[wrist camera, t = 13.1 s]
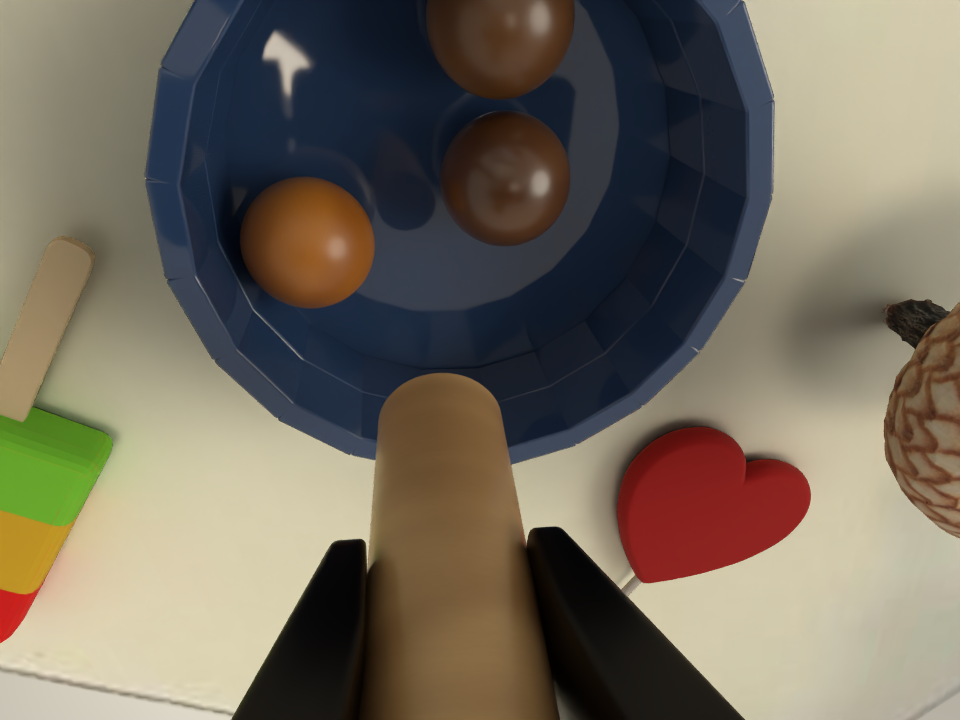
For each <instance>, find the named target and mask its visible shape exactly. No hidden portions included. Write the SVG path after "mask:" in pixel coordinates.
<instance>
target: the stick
mask: <svg viewBox="0 0 960 720" xmlns="http://www.w3.org/2000/svg"><path fill="white" fill-rule="evenodd" d="M526 547H527V545H526V540H525V534H524V529H523V524H522V519H521V514H520V509H519V503H518V498H517V493H516V488H515V483H514V478H513V472H512V467H511V462H510V457H509V452H508V446H507V441H506V436H505V431H504V426H503V421H502V415H501V411H500V407H499V405H498V403H497V401H496V399H495V398H494V396H493V395H492V394H491V393H490V392H489V391H488V390H487V389H486V388H485V387H484V386H483V385H481V384H480V383H478V382H476V381H474V380H473V379H471V378H468V377H465V376H462V375H458V374H452V373H433V374H427V375H422V376H419V377H416V378H414V379H411V380H409V381H407V382H406V383H404V384H402V385H401V386H399V387H398V388H397V389H396V390H395V391H394V392H393V393H392V394H391V395H390V396H389V397H388V398H387V400H386V401H385V403H384V405H383V407H382V409H381V412H380V415H379V421H378V435H377V448H376V461H375V474H374V488H373V501H372V514H371V527H370V540H369V554H368V567H367V606H366V653H365V670H364V679H363V688H362V696H361V703H360V712H359V720H560V715H559V710H558V705H557V700H556V695H555V690H554V684H553V679H552V674H551V669H550V664H549V659H548V653H547V648H546V643H545V638H544V633H543V628H542V623H541V618H540V613H539V607H538V602H537V597H536V592H535V587H534V582H533V578H532V573H531V568H530V564H529V559H528V554H527V550H526Z"/></svg>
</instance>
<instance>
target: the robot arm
mask: <svg viewBox="0 0 960 720" xmlns="http://www.w3.org/2000/svg"><path fill="white" fill-rule="evenodd" d="M526 550H527V554H528V559H529V564H530V568H531V573H532V578H533V582H534V587H535V592H536V597H537V602H538V607H539V613H540V618H541V623H542V628H543V633H544V638H545V643H546V648H547V653H548V659H549V664H550V669H551V674H552V679H553V684H554V690H555V695H556V700H557V705H558V710H559V715H560V720H745V719H744V718H743V717H742V716H741V715H740V714H739V713H738V712H737V711H736V710H735V709H734V708H733V707H732V706H731V705H730V703H729V702H728V701H727V700H726V699H725V698H724V697H723V696H722V695H721V694H720V693H719V692H718V691H717V690H716V689H715V688H714V687H713V686H712V685H711V684H710V683H709V682H708V680H707V679H706V678H705V677H704V676H703V675H702V674H701V673H700V672H699V671H698V670H697V669H696V668H695V667H694V666H693V665H692V664H691V663H690V662H689V661H688V660H687V659H686V657H685V656H684V655H683V654H682V653H681V652H680V651H679V650H678V649H677V648H676V647H675V646H674V645H673V644H672V643H671V642H670V641H669V640H668V639H667V638H666V637H665V635H664V634H663V633H662V632H661V631H660V630H659V629H658V628H657V627H656V626H655V625H654V624H653V623H652V622H651V621H650V620H649V619H648V618H647V617H646V616H645V615H644V614H643V612H642V611H641V610H640V609H639V608H638V607H637V606H636V605H635V604H634V603H633V602H632V601H631V600H630V599H629V598H628V597H627V596H626V595H625V594H624V593H623V592H622V591H621V589H620V588H619V587H618V586H617V585H616V584H615V583H614V582H613V581H612V580H611V579H610V578H609V577H608V576H607V575H606V574H605V573H604V572H603V571H602V570H601V569H600V567H599V566H598V565H597V564H596V563H595V562H594V561H593V560H592V559H591V558H590V557H589V556H588V555H587V554H586V553H585V552H584V551H583V550H582V549H581V548H580V547H579V546H578V544H577V543H576V542H575V541H574V540H573V539H572V538H571V537H570V536H569V535H568V534H567V533H566V532H565V531H564V530H563V529H561V528H560V527H539V528H533V529H532V530H530V532H529V535H528V540H527V547H526ZM366 606H367V556H366V543H365V541H364V540H362V539H352V540H338V541H335V542H333V543H332V544H331V545H330V547H329V549H328V550H327V552H326V554H325V556H324V557H323V559H322V561H321V563H320V564H319V566H318V568H317V570H316V571H315V573H314V575H313V577H312V578H311V580H310V582H309V584H308V585H307V587H306V589H305V591H304V592H303V594H302V596H301V598H300V599H299V601H298V603H297V605H296V606H295V608H294V610H293V612H292V614H291V615H290V617H289V619H288V621H287V622H286V624H285V626H284V628H283V629H282V631H281V633H280V635H279V636H278V638H277V640H276V642H275V643H274V645H273V647H272V649H271V650H270V652H269V654H268V656H267V657H266V659H265V661H264V663H263V664H262V666H261V668H260V670H259V671H258V673H257V675H256V677H255V679H254V680H253V682H252V684H251V686H250V687H249V689H248V691H247V693H246V694H245V696H244V698H243V700H242V701H241V703H240V705H239V707H238V708H237V710H236V712H235V714H234V715H233V717H232V719H231V720H359V712H360V703H361V696H362V688H363V679H364V670H365V653H366Z"/></svg>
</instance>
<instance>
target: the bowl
mask: <svg viewBox="0 0 960 720" xmlns="http://www.w3.org/2000/svg"><path fill="white" fill-rule="evenodd" d="M426 5H427V0H193V2H192V4H191V6H190V8H189V10H188V11H187V13H186V15H185V17H184V19H183V21H182V23H181V24H180V26H179V28H178V30H177V32H176V34H175V35H174V37H173V39H172V41H171V43H170V45H169V47H168V48H167V50H166V52H165V54H164V56H163V58H162V60H161V67H159V69H158V73H157V81H156V88H155V96H154V103H153V111H152V118H151V126H150V133H149V141H148V148H147V156H146V163H145V171H144V175H145V178H146V179H145V187H146V192H147V196H148V201H149V206H150V210H151V215H152V220H153V224H154V229H155V234H156V238H157V243H158V248H159V252H160V257H161V262H162V266H163V271H164V276H165V278H166V279H167V283H168V285H169V287H170V288H171V290H172V292H173V293H174V295H175V297H176V298H177V300H178V302H179V304H180V305H181V307H182V309H183V310H184V312H185V314H186V315H187V317H188V319H189V320H190V322H191V324H192V326H193V327H194V329H195V331H196V332H197V334H198V336H199V337H200V339H201V341H202V343H203V344H204V346H205V348H206V349H207V351H208V353H209V354H210V356H211V358H212V359H213V360H215V362H216V364H217V365H218V366H219V367H221V368H222V369H223V370H224V371H225V372H226V373H227V374H228V375H229V376H230V377H232V378H233V379H234V380H235V381H236V382H237V383H238V384H239V385H240V386H241V387H243V388H244V389H245V390H246V391H247V392H248V393H249V394H250V395H251V396H252V397H254V398H255V399H256V400H257V401H258V402H259V403H260V404H261V405H262V406H263V407H265V408H266V409H267V410H268V411H269V412H270V413H271V414H272V415H273V416H274V417H276V418H278V420H279V421H281V422H283V423H285V424H287V425H289V426H291V427H293V428H295V429H297V430H299V431H301V432H303V433H305V434H307V435H309V436H311V437H313V438H316V439H318V440H320V441H322V442H324V443H326V444H328V445H330V446H332V447H334V448H336V449H338V450H340V451H342V452H344V453H346V454H348V455H351V454H352V455H353V456H356V457H361V458H366V459H371V460H376V448H377V435H378V421H379V415H380V412H381V409H382V407H383V405H384V403H385V401H386V400H387V398H388V397H389V396H390V395H391V394H392V393H393V392H394V391H395V390H396V389H397V388H398V387H399V386H401V385H402V384H404V383H406V382H407V381H409V380H411V379H414V378H416V377H419V376H422V375H427V374H433V373H452V374H458V375H462V376H465V377H468V378H471V379H473V380H474V381H476V382H478V383H480V384H481V385H483V386H484V387H485V388H486V389H487V390H488V391H489V392H490V393H491V394H492V395H493V396H494V398H495V399H496V401H497V403H498V405H499V407H500V411H501V415H502V421H503V426H504V431H505V436H506V441H507V446H508V452H509V457H510V462H511V465H512V464H516V463H519V462H522V461H526V460H529V459H532V458H536V457H539V456H543V455H546V454H549V453H553V452H556V451H560V450H563V449H566V448H570V447H573V446H575V444H579V443H581V442H582V441H584V440H586V439H588V438H589V437H591V436H593V435H595V434H596V433H598V432H600V431H602V430H603V429H605V428H607V427H609V426H610V425H612V424H614V423H616V422H617V421H619V420H621V419H622V418H624V417H626V416H628V415H629V414H631V413H633V412H635V411H636V410H638V409H640V408H641V407H642V405H645V404H646V403H647V402H648V401H650V400H651V399H652V398H653V397H654V396H655V395H656V394H657V393H658V392H659V391H660V390H661V389H662V388H663V387H664V386H665V385H666V384H667V383H669V382H670V381H671V380H672V379H673V378H674V377H675V376H676V375H677V374H678V373H679V372H680V371H681V370H682V369H683V368H684V367H685V366H686V365H688V364H689V363H690V362H691V361H692V360H693V359H694V358H695V357H696V356H697V355H698V354H699V353H700V351H699V350H702V349H703V348H704V346H705V345H706V343H707V342H708V340H709V339H710V337H711V335H712V334H713V332H714V331H715V329H716V327H717V326H718V324H719V323H720V321H721V320H722V318H723V316H724V315H725V313H726V312H727V310H728V309H729V307H730V305H731V304H732V302H733V301H734V299H735V298H736V296H737V294H738V293H739V291H740V290H741V288H742V287H743V285H744V283H745V279H747V277H748V274H749V271H750V267H751V264H752V261H753V258H754V255H755V251H756V248H757V245H758V242H759V239H760V235H761V232H762V229H763V226H764V223H765V219H766V216H767V213H768V210H769V207H770V203H771V200H772V195H771V194H772V193H773V173H774V109H775V102H774V100H773V98H774V94H773V91H772V88H771V85H770V82H769V78H768V75H767V72H766V69H765V66H764V62H763V59H762V56H761V53H760V50H759V46H758V43H757V40H756V37H755V34H754V30H753V27H752V24H751V21H750V18H749V14H748V11H747V8H746V5H745V2H744V1H743V0H574V5H575V22H574V28H573V34H572V38H571V42H570V45H569V47H568V50H567V52H566V55H565V57H564V58H563V60H562V62H561V63H560V65H559V67H558V68H557V69H556V71H555V72H554V73H553V74H552V75H551V76H550V78H549V79H548V80H546V81H545V82H544V83H543V84H542V85H540V86H539V87H538V88H536V89H535V90H533V91H531V92H529V93H527V94H525V95H522V96H519V97H516V98H511V99H504V100H494V99H486V98H483V97H479V96H476V95H474V94H471V93H469V92H467V91H466V90H464V89H462V88H461V87H460V86H458V85H457V84H456V83H455V82H454V81H453V80H452V79H451V78H450V77H449V76H448V75H447V74H446V73H445V72H444V70H443V69H442V68H441V66H440V64H439V63H438V61H437V59H436V57H435V55H434V53H433V50H432V48H431V45H430V42H429V38H428V33H427V25H426ZM503 110H509V111H518V112H522V113H526V114H528V115H531V116H533V117H535V118H537V119H539V120H540V121H542V122H543V123H544V124H546V125H547V126H548V127H549V128H550V129H551V130H552V131H553V132H554V133H555V134H556V136H557V137H558V138H559V140H560V141H561V143H562V145H563V147H564V149H565V151H566V154H567V157H568V161H569V165H570V174H571V180H570V190H569V195H568V198H567V202H566V204H565V206H564V208H563V211H562V212H561V214H560V216H559V217H558V219H557V220H556V221H555V222H554V224H553V225H552V226H551V227H550V228H549V229H548V230H547V231H546V232H544V233H543V234H542V235H540V236H539V237H537V238H535V239H534V240H531V241H529V242H526V243H524V244H520V245H516V246H505V247H503V246H494V245H489V244H486V243H483V242H480V241H478V240H476V239H474V238H472V237H471V236H469V235H468V234H466V233H465V232H464V231H463V230H462V229H461V228H460V227H459V226H458V225H457V224H456V223H455V222H454V220H453V219H452V217H451V216H450V214H449V212H448V210H447V208H446V206H445V204H444V201H443V198H442V193H441V187H440V171H441V166H442V161H443V158H444V155H445V152H446V150H447V148H448V146H449V144H450V142H451V141H452V139H453V138H454V136H455V135H456V134H457V133H458V132H459V130H460V129H462V128H463V127H464V126H465V125H466V124H467V123H469V122H470V121H472V120H473V119H475V118H477V117H479V116H481V115H483V114H486V113H490V112H494V111H503ZM293 177H316V178H320V179H324V180H327V181H330V182H332V183H334V184H336V185H338V186H340V187H342V188H343V189H345V190H346V191H347V192H349V193H350V194H351V195H352V196H353V197H354V198H355V199H356V200H357V201H358V202H359V203H360V205H361V206H362V207H363V209H364V210H365V212H366V214H367V216H368V218H369V220H370V223H371V225H372V229H373V233H374V239H375V253H374V259H373V263H372V266H371V269H370V271H369V273H368V275H367V277H366V279H365V281H364V282H363V283H362V284H361V286H360V287H359V288H358V289H357V290H356V291H355V292H354V293H353V294H352V295H350V296H349V297H347V298H346V299H344V300H343V301H341V302H338V303H336V304H334V305H331V306H327V307H322V308H309V309H307V308H299V307H295V306H291V305H287V304H285V303H283V302H280V301H278V300H277V299H275V298H273V297H272V296H270V295H269V294H268V293H266V292H265V291H264V290H263V289H262V288H261V287H260V286H259V285H258V284H257V283H256V282H255V281H254V279H253V278H252V276H251V275H250V273H249V271H248V270H247V268H246V265H245V263H244V260H243V257H242V253H241V246H240V232H241V226H242V222H243V218H244V216H245V213H246V211H247V210H248V208H249V206H250V204H251V203H252V202H253V200H254V199H255V198H256V197H257V196H258V195H259V194H260V193H261V192H262V191H263V190H265V189H266V188H268V187H269V186H270V185H272V184H274V183H276V182H279V181H281V180H284V179H288V178H293Z"/></svg>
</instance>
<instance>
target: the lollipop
mask: <svg viewBox="0 0 960 720" xmlns="http://www.w3.org/2000/svg"><path fill="white" fill-rule="evenodd" d="M810 500H811V492H810V487H809V484H808V481H807V479H806V478H805V476H804V475H803V473H802V472H801V471H799V470H798V469H797V468H796V467H794V466H792V465H791V464H788V463H786V462H783V461H780V460H773V459H760V460H754V461H750V462H748V463H746V459H745V456H744V453H743V451H742V449H741V447H740V446H739V445H738V443H737V442H736V441H735V440H734V439H733V438H732V437H730V436H729V435H727V434H725V433H723V432H721V431H719V430H716V429H713V428H708V427H690V428H683V429H679V430H675V431H672V432H670V433H667V434H665V435H663V436H661V437H659V438H657V439H656V440H654V441H653V442H651V443H650V444H649V445H648V446H646V447H645V448H644V449H643V450H642V451H641V452H640V453H639V454H638V455H637V456H636V457H635V459H634V460H633V461H632V462H631V464H630V465H629V467H628V469H627V471H626V473H625V475H624V477H623V480H622V484H621V487H620V492H619V496H618V503H617V518H618V526H619V533H620V538H621V542H622V545H623V548H624V551H625V553H626V556H627V558H628V561H629V563H630V565H631V567H632V569H633V571H634V573H635V576H634V577H633V578H632V579H631V580H630V581H629V582H628V583H627V584H626V585H625V586H624V587H623V588H622V589H621V591H622V592H623V593H624V594H625V595H626V596H627V597H628V596H629V595H630V594H631V593H632V591H633V590H634V589H635V588H636V587H637V586H638V585H639V584H640V583H641V582H643V583H654V582H660V581H667V580H673V579H677V578H683V577H688V576H692V575H697V574H701V573H705V572H708V571H712V570H715V569H719V568H722V567H725V566H728V565H732V564H735V563H738V562H740V561H743V560H745V559H747V558H750V557H752V556H754V555H756V554H758V553H760V552H762V551H764V550H766V549H768V548H770V547H772V546H773V545H775V544H777V543H778V542H780V541H781V540H782V539H784V538H785V537H786V536H788V535H789V534H790V533H791V532H792V531H793V530H794V529H795V528H796V527H797V526H798V524H799V523H800V522H801V521H802V519H803V518H804V516H805V515H806V513H807V511H808V508H809V505H810Z"/></svg>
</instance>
